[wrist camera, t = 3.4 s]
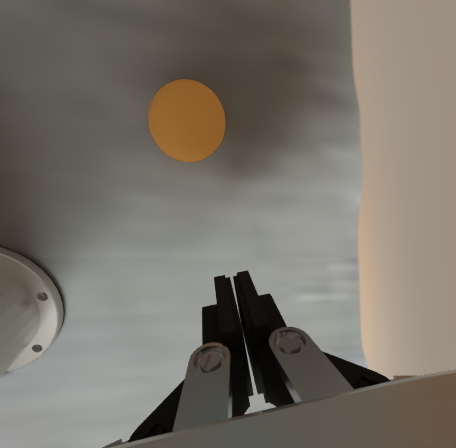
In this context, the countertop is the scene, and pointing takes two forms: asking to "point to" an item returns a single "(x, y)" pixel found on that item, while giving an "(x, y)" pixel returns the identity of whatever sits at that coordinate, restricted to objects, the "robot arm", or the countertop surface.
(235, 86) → the countertop surface
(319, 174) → the countertop surface
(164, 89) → the ball
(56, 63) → the countertop surface
